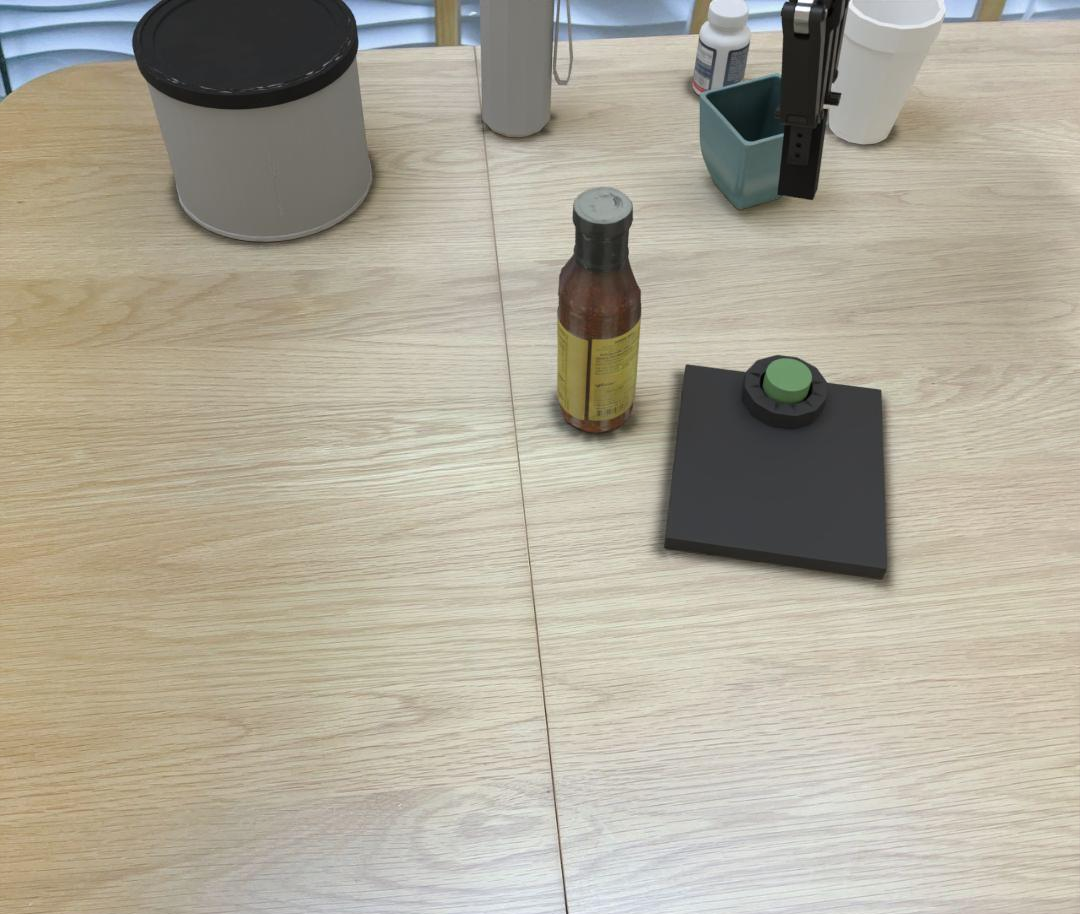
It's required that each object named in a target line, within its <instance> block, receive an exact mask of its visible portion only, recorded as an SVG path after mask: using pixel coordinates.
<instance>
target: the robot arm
mask: <svg viewBox="0 0 1080 914" xmlns="http://www.w3.org/2000/svg"><path fill="white" fill-rule="evenodd" d="M849 2H850V0H788V1H784V3H783V5H782V7H781V11H780V17H781V31H782V50H781V51H782V52H781V72H780V74H781V96H780V105H778V107H777V109H776V111H775V113H774V118H779V123H780V124H783V125H785V126H784V136H783V145H782V155H781V164H780V174H779V183H778V193H777V195H781V196H782V197H788V198H793V199H794V198H796V199H801V200H808V201H814V199H815V196H816V194H817V192H818V187H819V180H820V174H821V173H820V172H821V167H822V166H821V165H822V159H823V151H824V144H825V143H824V142H825V137H826V131H827V128H826V123H827V121H828V116H829V108H824V107H825V106H830V105H833V106H838V105H839V102H840V98H841V93H839V92H832V85H833V83H834V82H835V81H836V79H837V77H838V72H839V71H838V64H839V58H840V53H841V47H842V41H843V35H844V29H845V23H846V18H847V12H848V6H849ZM825 130H826V131H825Z"/></svg>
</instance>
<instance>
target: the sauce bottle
mask: <svg viewBox="0 0 1080 914" xmlns="http://www.w3.org/2000/svg"><path fill="white" fill-rule="evenodd" d="M633 222H634V207H633V201H632V200H631V198H630V197H629V196H628V195H627V194H626V193H623V192H622V191H621V190H619V189H617V188H615V187H610V186H598V187H592V188H588V189H587V190H585V191H583V192H581V193H579V194H577V196H576V197H575V198H574V200H573V204H572V224H573V225H574V246H573V254H572V255H571V256H570V257H569V259H568V260H567V262H566V263H565V264H564V266H563V267H562V268H561V269H560V273H559V275H558V288H557V296H558V303H557V304H558V305H557V310H556V322H557V323H556V328H557V329H556V332H557V333H556V335H557V336H556V337H557V340H556V341H557V344H556V345H557V346H556V347H557V353H556V355H557V357H556V358H557V361H556V364H557V365H556V367H557V371H556V378H557V379H556V381H557V383H556V385H557V386H556V396H557V400H558V402H559V408H560V411H561V414H562V418H564V420H565V421H566V422H567V423H569V424H570V425H572V426H574V427H575V428H577V429H580V430H582V431H585V432H587V433H598V434H599V433H604V432H610V431H614V430H616V429H618V428H620V427H621V426H622V425H624V424H625V422H626V421H627V420H628V419H629V418H630V415H631V413H632V411H633V409H634V408H633V407H634V401H635V398H636V389H637V387H636V386H637V375H638V364H639V363H638V362H639V348H640V337H641V336H640V335H641V322H642V290H641V288H640V286H639V284H638V282H637V280H636V277H635V275H634V272H633V269H632V267H631V261H630V257H629V255H630V247H629V236H630V228H631V226H632V224H633Z"/></svg>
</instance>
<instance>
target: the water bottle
mask: <svg viewBox="0 0 1080 914" xmlns="http://www.w3.org/2000/svg"><path fill="white" fill-rule="evenodd" d="M565 2H566V16H567V17H566V18H567V33H568V35H567V37H568V50H569V64H568V74H567V78H566V80H565V79H560V76H559V73H558V71H557V61H558V60H557V58H558V44H559V43H558V42H559V28H560V26H559V25H560V12H561V11H560V10H561V0H557V2H556V3H557V5H556V17H555V0H479V30H480V31H479V32H480V36H479V37H480V79H481V81H480V82H481V84H480V85H481V86H480V87H481V120H482V121H483V122H484V123H485V124H486V125H487V127H488V128H490V129H491V130H492V131H493V132H494V133H497V134H500V135H502V136H505V137H508V138H526V137H528V136H531V135H534V134H538V133H539V132H541V130H542V129H543V128H544V127H545V126H546V125H547V124H548V122H549V121H550V120H551V105H552V78H553V77H554V80H555V82H556V84H557V85H558V86H568V84H569V82H570V78H571V75H572V69H573V68H572V67H573V61H574V49H573V35H572V34H573V33H572V20H571V19H572V18H571V4H570V0H566V1H565ZM554 23H555V24H554ZM554 25H555V29H554ZM554 30H555V31H554ZM552 76H553V77H552Z"/></svg>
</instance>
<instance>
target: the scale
mask: <svg viewBox="0 0 1080 914" xmlns="http://www.w3.org/2000/svg"><path fill="white" fill-rule="evenodd" d="M783 358H789V359H794V360H797V361H800V362H801V363H803V364H805V365H806V366H807V367H808V368H809V370H810V371H811V374H812V381H811V384H810V387H809V390H808V394H807V396H806V397H805V398H804V399H803V400H802V401H800V402H798V403H795V404H785V403H778V402H776V401H775V400H773V399H771V398H769V397H768V396H767V395H766V393H765V392H764V389H763V381H764V377H765V373H766V370H767V367H768V366H769V364H770V363H772V362H773V361H775V360H778V359H783ZM882 396H883V395H882V389H881V388H874V387H873V388H871V387H863V386H858V385H850V384H849V385H848V384H842V383H834V382H828V381H827V379H826V378H825V377H824V376H823V374H822V373H821V371H820V370H819V369H818V367H816V366H814V365H813V364H811V363H809V362H807V361H805V360H803V359H801V358H800V357H798V356H790V355H781V354H775V355H771V356H767V357H763V358H759V359H756V360H755V362H754V363H752V365H751V366H750V367H749V368H748V369H747V370H745V371H742V370H736V369H735V370H733V369H727V368H719V367H711V366H704V365H696V364H688V363H687V364H685V366H684V370H683V377H682V386H681V394H680V403H679V411H678V421H677V428H676V437H675V446H674V447H675V448H674V455H673V464H672V473H671V481H670V491H669V498H668V506H667V507H668V508H667V515H666V524H665V533H664V534H665V535H664V542H663V549H667V550H673V551H681V552H686V553H687V552H688V553H695V554H702V555H709V556H714V557H715V556H716V557H722V558H731V559H735V560H744V561H751V562H757V563H766V564H770V565H771V564H772V565H778V566H786V567H791V568H800V569H806V570H807V569H808V570H814V571H820V572H827V573H834V574H842V575H849V576H855V577H862V578H863V577H864V578H870V579H877V580H883V579H884V577H885V575H886V573H887V570H888V553H887V552H888V549H887V519H886V518H887V516H886V487H885V460H884V459H885V457H884V430H883V429H884V428H883V397H882Z"/></svg>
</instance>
